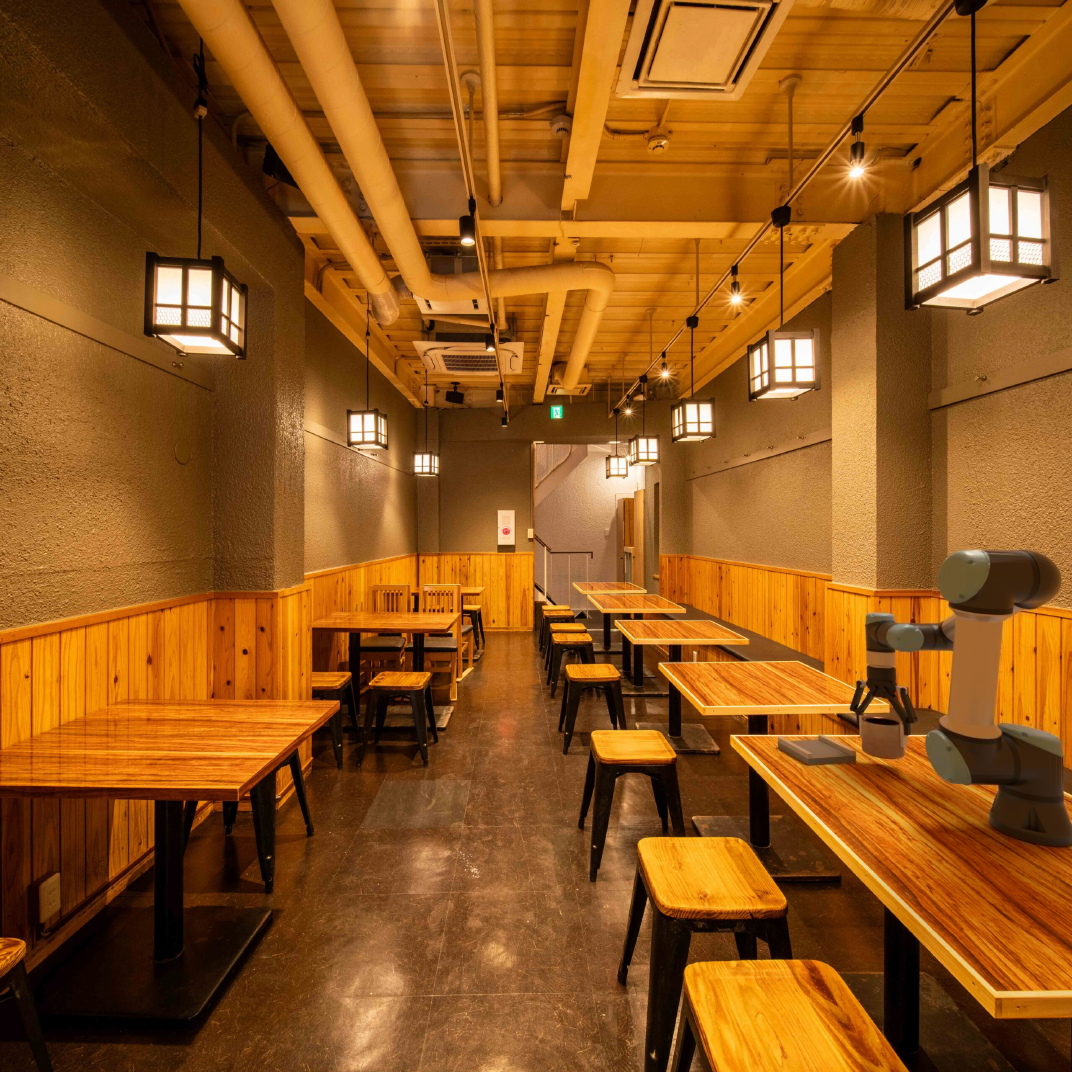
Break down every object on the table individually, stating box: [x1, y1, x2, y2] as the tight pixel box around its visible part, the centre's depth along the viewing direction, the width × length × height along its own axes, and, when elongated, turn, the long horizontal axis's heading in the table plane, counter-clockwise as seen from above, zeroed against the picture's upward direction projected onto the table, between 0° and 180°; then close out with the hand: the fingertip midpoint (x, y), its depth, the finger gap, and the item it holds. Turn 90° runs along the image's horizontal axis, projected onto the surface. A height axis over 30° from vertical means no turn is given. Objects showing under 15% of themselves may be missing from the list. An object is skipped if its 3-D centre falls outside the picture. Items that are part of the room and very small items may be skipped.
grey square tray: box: [777, 734, 857, 766], centre depth 186 cm, size 16×16×3 cm
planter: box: [861, 716, 906, 760], centre depth 174 cm, size 11×11×10 cm
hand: (883, 741), depth 174 cm, fingers closed on planter, 11 cm apart
